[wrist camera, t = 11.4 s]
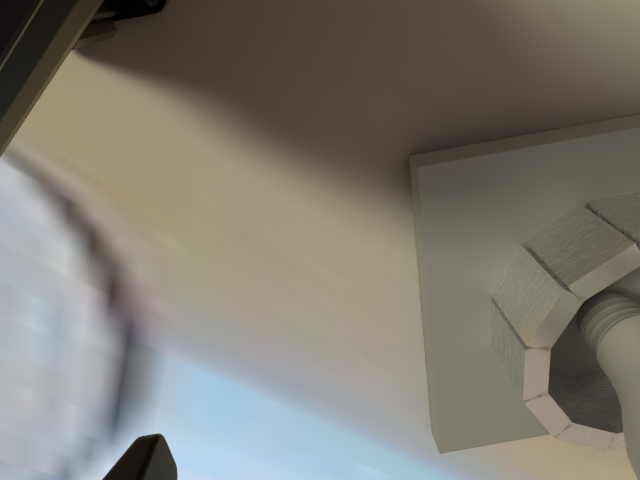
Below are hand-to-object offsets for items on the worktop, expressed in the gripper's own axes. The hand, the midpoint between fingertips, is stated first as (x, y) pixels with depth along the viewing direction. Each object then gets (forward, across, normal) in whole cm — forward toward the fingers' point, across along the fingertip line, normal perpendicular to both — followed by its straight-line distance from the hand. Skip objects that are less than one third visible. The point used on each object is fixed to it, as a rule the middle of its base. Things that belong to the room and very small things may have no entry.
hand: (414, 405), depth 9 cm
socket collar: (+12, -11, +8) cm, 18 cm away
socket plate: (+13, -11, +8) cm, 19 cm away
